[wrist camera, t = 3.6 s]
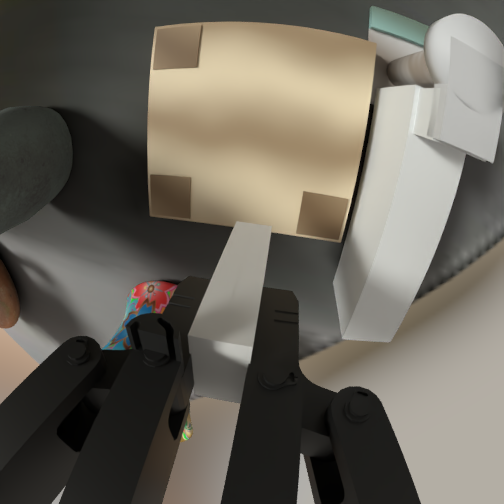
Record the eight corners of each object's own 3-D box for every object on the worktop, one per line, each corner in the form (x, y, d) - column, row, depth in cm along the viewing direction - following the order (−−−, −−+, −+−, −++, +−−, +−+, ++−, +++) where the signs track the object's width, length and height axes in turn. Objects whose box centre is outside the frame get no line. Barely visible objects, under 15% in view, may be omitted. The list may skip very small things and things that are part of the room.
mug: (186, 256, 21) (122, 368, 12) (241, 338, 24) (218, 446, 15) (94, 292, 24) (36, 370, 15) (147, 355, 28) (111, 433, 19)
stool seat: (177, -22, 10) (125, -63, 4) (538, 85, 9) (595, 98, 3) (162, 204, 19) (109, 256, 13) (496, 260, 17) (536, 311, 11)
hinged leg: (375, 35, 11) (435, -5, 4) (433, 56, 11) (514, 45, 4) (327, 282, 20) (338, 370, 13) (377, 288, 19) (403, 371, 13)
